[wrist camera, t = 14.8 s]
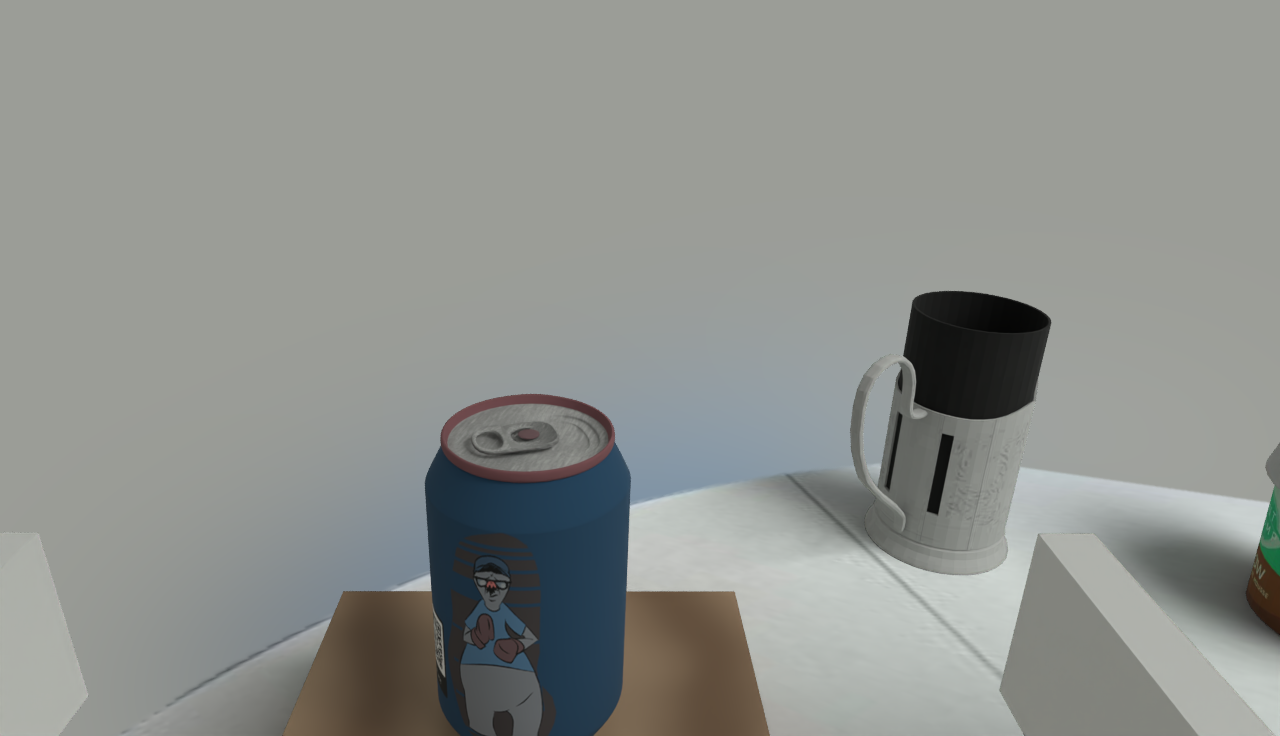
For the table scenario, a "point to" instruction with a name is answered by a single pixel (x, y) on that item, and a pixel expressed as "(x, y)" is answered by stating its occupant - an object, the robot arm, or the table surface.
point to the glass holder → (953, 430)
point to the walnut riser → (635, 732)
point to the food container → (1268, 557)
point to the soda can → (528, 567)
